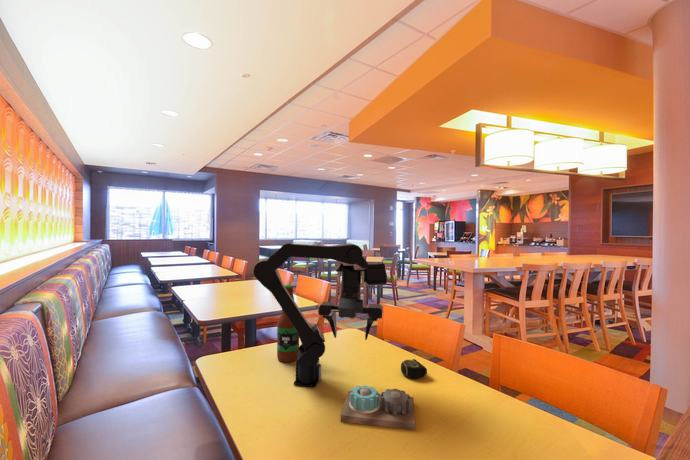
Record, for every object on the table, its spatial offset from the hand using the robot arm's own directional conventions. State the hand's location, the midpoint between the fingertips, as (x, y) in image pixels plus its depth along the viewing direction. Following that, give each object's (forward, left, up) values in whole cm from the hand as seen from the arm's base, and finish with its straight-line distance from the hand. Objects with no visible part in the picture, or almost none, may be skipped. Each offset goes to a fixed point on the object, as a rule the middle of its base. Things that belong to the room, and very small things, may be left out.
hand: (350, 338), depth 95 cm
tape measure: (+19, +7, -12) cm, 23 cm away
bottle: (-23, +10, -12) cm, 28 cm away
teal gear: (+6, -15, -10) cm, 19 cm away
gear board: (+9, -16, -12) cm, 22 cm away
